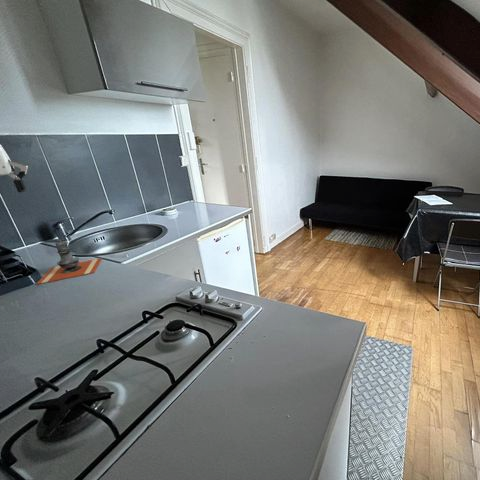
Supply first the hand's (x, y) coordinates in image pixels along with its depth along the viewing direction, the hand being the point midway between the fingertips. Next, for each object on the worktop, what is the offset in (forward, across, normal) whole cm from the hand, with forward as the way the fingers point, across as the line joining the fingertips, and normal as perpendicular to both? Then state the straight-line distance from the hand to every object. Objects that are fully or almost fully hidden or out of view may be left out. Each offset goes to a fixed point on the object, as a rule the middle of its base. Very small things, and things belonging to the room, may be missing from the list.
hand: (1, 193), depth 87 cm
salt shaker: (+28, +12, -9) cm, 32 cm away
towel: (+28, +12, -9) cm, 32 cm away
